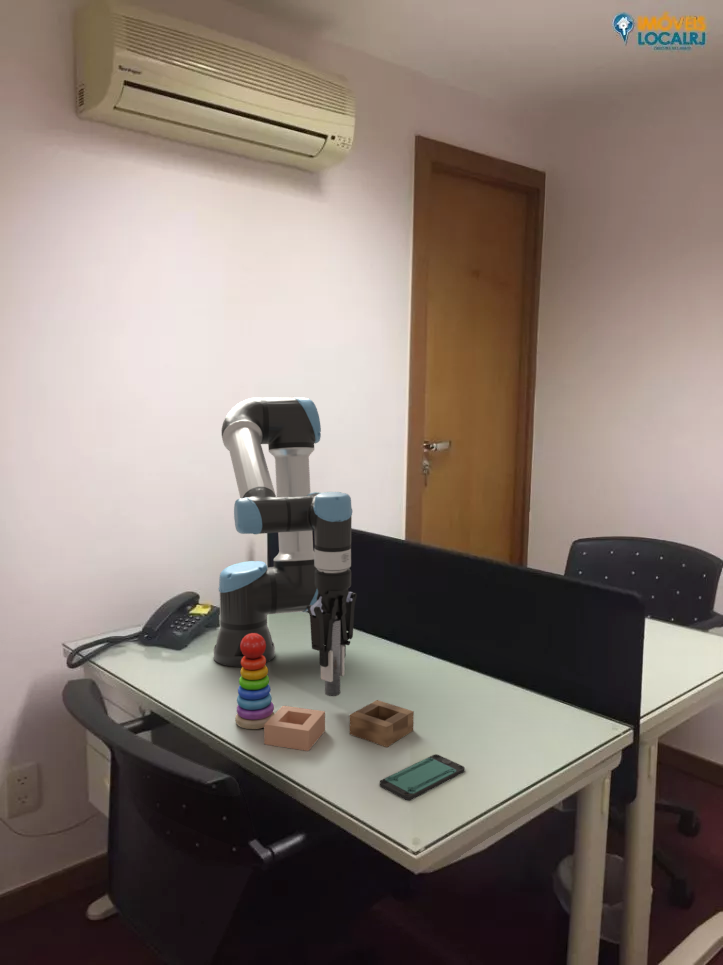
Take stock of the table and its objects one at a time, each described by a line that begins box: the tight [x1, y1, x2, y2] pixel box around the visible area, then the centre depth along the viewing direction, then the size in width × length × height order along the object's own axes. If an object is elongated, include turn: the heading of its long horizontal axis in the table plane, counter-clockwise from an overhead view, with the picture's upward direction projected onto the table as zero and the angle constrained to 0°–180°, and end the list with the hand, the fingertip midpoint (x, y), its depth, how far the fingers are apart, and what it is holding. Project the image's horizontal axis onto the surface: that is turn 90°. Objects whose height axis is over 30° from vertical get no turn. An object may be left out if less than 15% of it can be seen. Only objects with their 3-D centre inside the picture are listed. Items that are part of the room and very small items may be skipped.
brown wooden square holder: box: [349, 699, 415, 748], centre depth 155 cm, size 9×9×4 cm
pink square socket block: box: [263, 705, 326, 752], centre depth 153 cm, size 9×9×4 cm
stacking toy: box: [234, 633, 275, 730], centre depth 159 cm, size 8×8×19 cm
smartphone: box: [379, 753, 466, 802], centre depth 138 cm, size 7×1×15 cm
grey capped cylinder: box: [324, 613, 341, 697], centre depth 164 cm, size 3×3×17 cm
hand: (332, 676), depth 165 cm, fingers closed on grey capped cylinder, 3 cm apart
